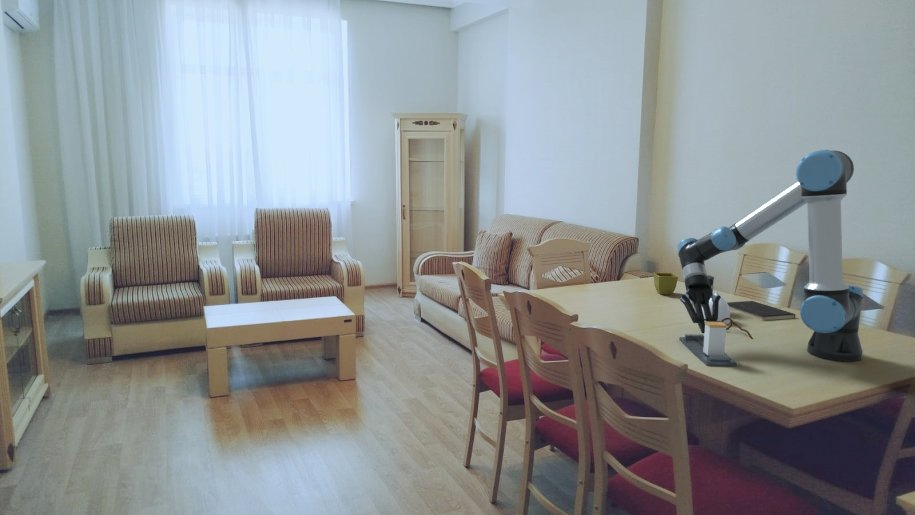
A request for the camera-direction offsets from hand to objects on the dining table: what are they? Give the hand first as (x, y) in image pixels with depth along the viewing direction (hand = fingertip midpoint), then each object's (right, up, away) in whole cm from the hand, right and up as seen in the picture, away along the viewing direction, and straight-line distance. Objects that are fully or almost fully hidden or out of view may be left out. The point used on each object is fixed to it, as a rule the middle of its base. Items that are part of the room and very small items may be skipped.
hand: (710, 341), depth 196 cm
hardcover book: (+43, +3, +57) cm, 71 cm away
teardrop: (+19, +2, +43) cm, 48 cm away
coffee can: (+20, +5, +60) cm, 64 cm away
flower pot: (+16, +10, +90) cm, 92 cm away
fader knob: (0, -3, -3) cm, 4 cm away
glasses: (+15, -1, +24) cm, 29 cm away
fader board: (0, -4, +3) cm, 5 cm away
